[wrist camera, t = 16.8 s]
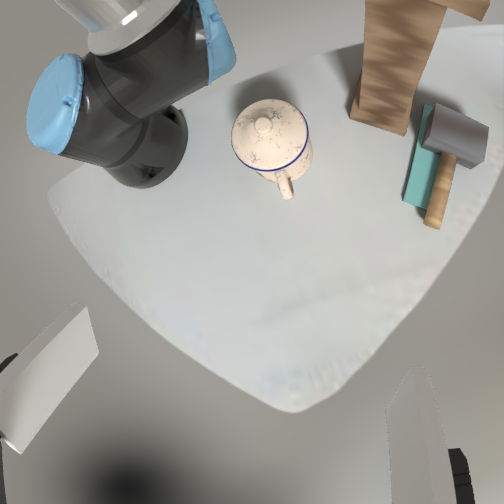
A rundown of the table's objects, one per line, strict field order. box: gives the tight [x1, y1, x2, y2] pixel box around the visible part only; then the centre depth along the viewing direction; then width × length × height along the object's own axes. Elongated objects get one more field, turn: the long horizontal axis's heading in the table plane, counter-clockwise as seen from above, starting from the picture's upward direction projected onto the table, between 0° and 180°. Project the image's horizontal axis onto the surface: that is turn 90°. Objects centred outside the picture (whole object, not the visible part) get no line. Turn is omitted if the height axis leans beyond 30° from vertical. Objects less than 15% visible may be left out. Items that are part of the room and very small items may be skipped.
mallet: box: [421, 103, 489, 229], centre depth 34 cm, size 15×8×5 cm, turn 160°
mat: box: [403, 104, 440, 210], centre depth 37 cm, size 6×15×1 cm, turn 162°
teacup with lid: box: [231, 99, 313, 200], centre depth 38 cm, size 12×9×12 cm
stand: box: [350, 0, 490, 136], centre depth 25 cm, size 10×10×30 cm
